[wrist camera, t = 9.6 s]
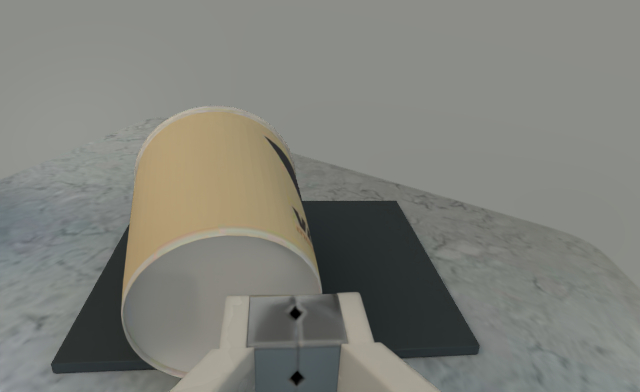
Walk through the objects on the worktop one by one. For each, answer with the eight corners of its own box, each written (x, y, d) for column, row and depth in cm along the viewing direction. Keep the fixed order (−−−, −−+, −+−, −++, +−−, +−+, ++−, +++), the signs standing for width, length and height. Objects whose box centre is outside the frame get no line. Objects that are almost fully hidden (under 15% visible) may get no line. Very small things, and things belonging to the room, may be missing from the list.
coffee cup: (366, 217, 16) (303, 109, 26) (85, 208, 14) (134, 92, 24) (321, 386, 21) (281, 238, 31) (101, 404, 18) (137, 236, 28)
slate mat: (395, 206, 36) (396, 200, 36) (477, 354, 22) (480, 345, 22) (142, 207, 34) (141, 200, 34) (53, 374, 20) (50, 364, 20)
